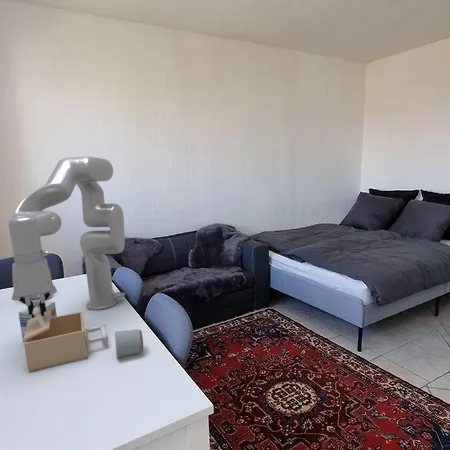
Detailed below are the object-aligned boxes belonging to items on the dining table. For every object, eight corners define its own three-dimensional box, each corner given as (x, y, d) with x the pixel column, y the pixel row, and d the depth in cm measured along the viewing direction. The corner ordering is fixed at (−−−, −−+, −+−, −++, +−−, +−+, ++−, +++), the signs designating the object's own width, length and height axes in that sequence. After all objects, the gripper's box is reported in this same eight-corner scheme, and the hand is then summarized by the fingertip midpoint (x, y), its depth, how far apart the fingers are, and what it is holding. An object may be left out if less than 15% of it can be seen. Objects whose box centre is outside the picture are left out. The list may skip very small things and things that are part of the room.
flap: (24, 340, 103) (13, 322, 102) (29, 321, 116) (19, 304, 114) (49, 329, 106) (39, 310, 104) (51, 311, 118) (42, 294, 116)
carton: (105, 331, 127) (102, 307, 126) (110, 352, 113) (107, 325, 111) (33, 347, 119) (29, 321, 117) (28, 372, 104) (23, 343, 102)
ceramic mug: (145, 356, 110) (142, 332, 109) (117, 362, 107) (114, 338, 106) (140, 341, 120) (138, 319, 119) (115, 346, 117) (112, 324, 116)
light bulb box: (39, 343, 121) (34, 313, 119) (22, 342, 123) (17, 312, 121) (59, 328, 131) (55, 300, 129) (43, 327, 133) (39, 300, 131)
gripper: (58, 250, 113) (66, 305, 117) (-1, 258, 107) (10, 316, 111) (58, 256, 107) (66, 314, 110) (-5, 265, 100) (6, 326, 104)
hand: (38, 314), depth 110 cm, fingers closed on flap, 2 cm apart
